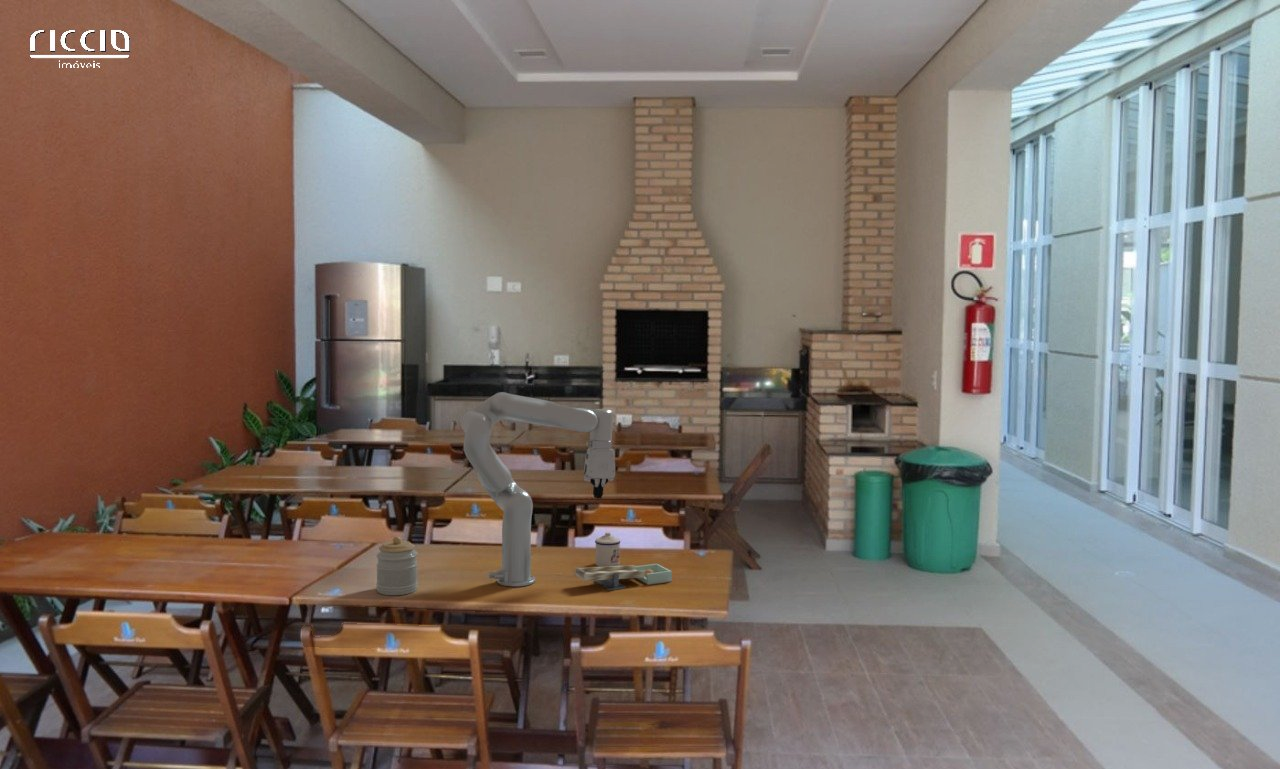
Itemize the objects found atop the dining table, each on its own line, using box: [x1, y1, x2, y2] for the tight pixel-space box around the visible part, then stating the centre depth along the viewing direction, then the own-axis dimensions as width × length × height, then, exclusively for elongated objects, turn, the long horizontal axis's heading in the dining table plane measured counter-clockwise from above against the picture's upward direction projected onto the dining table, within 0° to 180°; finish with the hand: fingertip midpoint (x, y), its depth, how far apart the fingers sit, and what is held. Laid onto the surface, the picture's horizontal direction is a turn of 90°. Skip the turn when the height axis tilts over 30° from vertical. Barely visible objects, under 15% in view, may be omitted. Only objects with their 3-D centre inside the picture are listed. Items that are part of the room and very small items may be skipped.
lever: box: [574, 564, 645, 582], centre depth 315 cm, size 22×13×3 cm, turn 117°
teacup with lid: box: [594, 532, 621, 567], centre depth 339 cm, size 12×9×12 cm
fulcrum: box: [593, 574, 627, 591], centre depth 313 cm, size 6×12×5 cm, turn 27°
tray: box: [635, 563, 673, 586], centre depth 320 cm, size 9×11×4 cm
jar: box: [375, 535, 419, 596], centre depth 304 cm, size 13×13×18 cm
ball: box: [645, 569, 653, 578], centre depth 320 cm, size 3×3×3 cm
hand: (597, 497), depth 325 cm, fingers closed
